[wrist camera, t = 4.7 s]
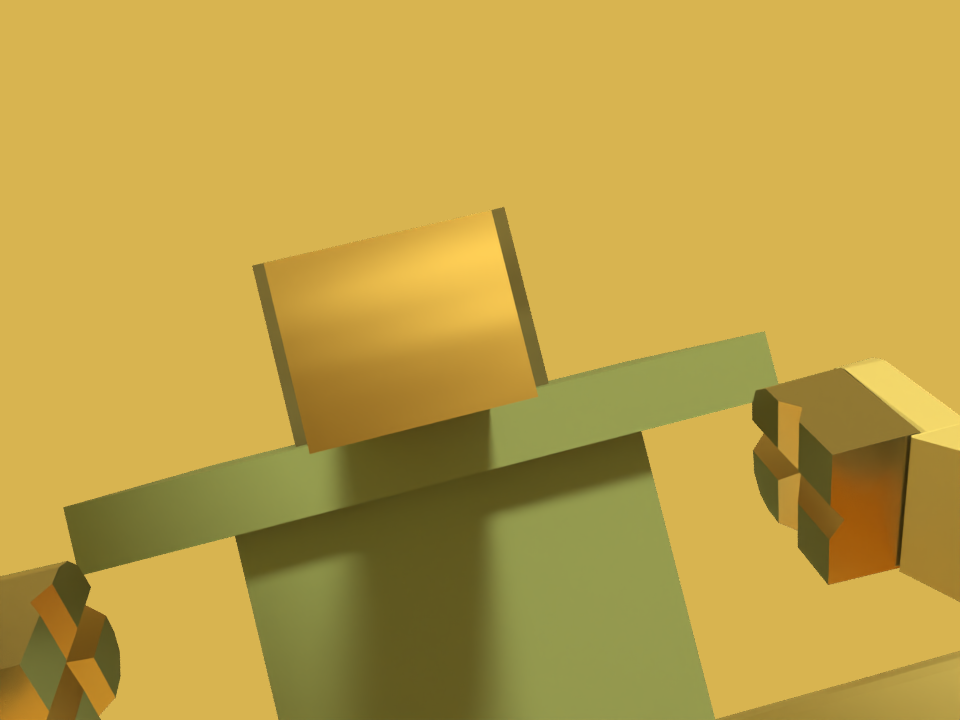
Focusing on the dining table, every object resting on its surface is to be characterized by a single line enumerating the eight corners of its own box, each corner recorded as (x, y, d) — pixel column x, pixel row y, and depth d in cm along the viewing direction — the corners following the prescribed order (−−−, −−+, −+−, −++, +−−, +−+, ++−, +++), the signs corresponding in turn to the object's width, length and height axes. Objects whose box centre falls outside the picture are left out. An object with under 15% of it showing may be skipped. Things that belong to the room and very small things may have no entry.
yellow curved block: (322, 438, 28) (287, 294, 29) (522, 388, 29) (487, 248, 29) (151, 494, 10) (61, 108, 11) (685, 360, 11) (591, -5, 11)
